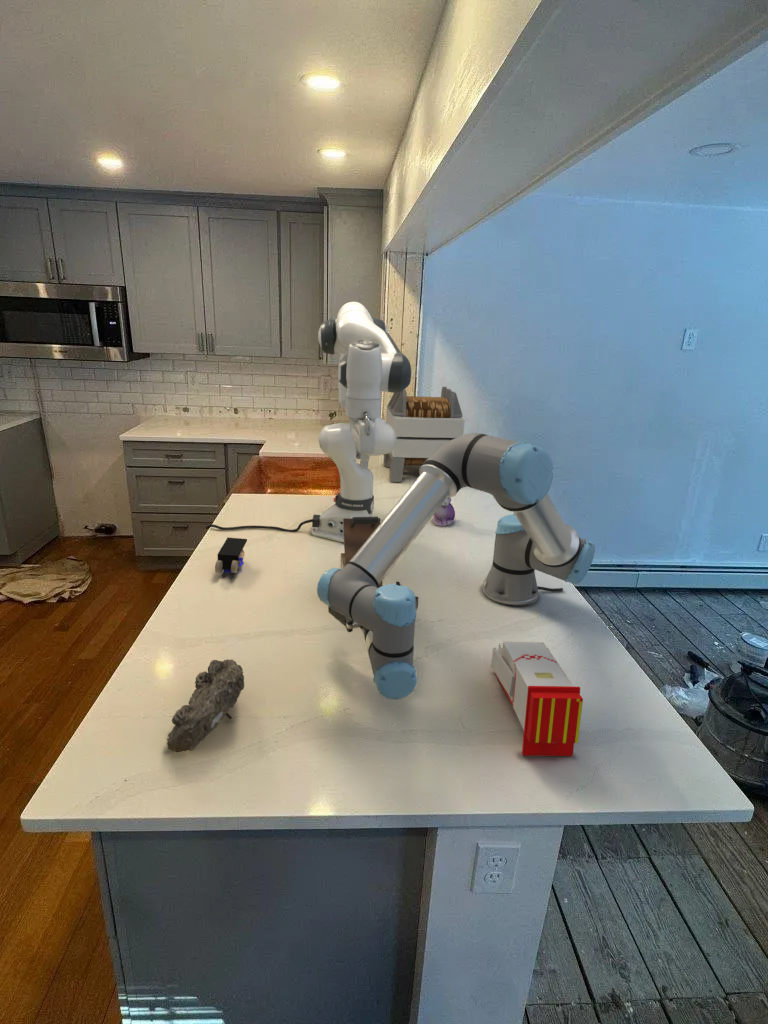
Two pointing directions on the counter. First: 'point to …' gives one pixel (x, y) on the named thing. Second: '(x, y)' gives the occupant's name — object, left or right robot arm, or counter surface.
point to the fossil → (206, 705)
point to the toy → (539, 697)
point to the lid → (357, 534)
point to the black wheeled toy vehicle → (230, 556)
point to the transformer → (421, 428)
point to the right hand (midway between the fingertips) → (369, 588)
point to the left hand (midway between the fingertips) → (361, 463)
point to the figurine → (444, 514)
